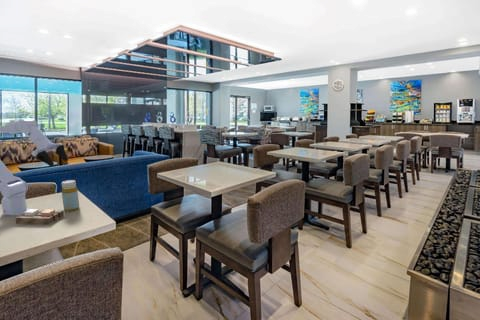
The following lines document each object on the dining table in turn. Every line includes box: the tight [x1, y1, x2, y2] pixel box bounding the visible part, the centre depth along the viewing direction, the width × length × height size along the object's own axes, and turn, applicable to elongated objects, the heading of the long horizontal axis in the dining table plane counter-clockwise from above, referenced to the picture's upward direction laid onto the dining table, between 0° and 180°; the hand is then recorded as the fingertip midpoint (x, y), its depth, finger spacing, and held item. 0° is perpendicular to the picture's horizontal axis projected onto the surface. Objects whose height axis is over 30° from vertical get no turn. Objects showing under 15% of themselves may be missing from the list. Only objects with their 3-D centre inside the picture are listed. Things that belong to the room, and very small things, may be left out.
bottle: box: [61, 179, 80, 212], centre depth 145 cm, size 7×7×15 cm
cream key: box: [24, 208, 40, 216], centre depth 133 cm, size 4×4×3 cm
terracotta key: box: [41, 208, 56, 216], centre depth 133 cm, size 4×4×3 cm
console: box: [14, 209, 65, 226], centre depth 133 cm, size 16×10×3 cm, turn 87°
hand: (59, 162), depth 133 cm, fingers open, 7 cm apart
